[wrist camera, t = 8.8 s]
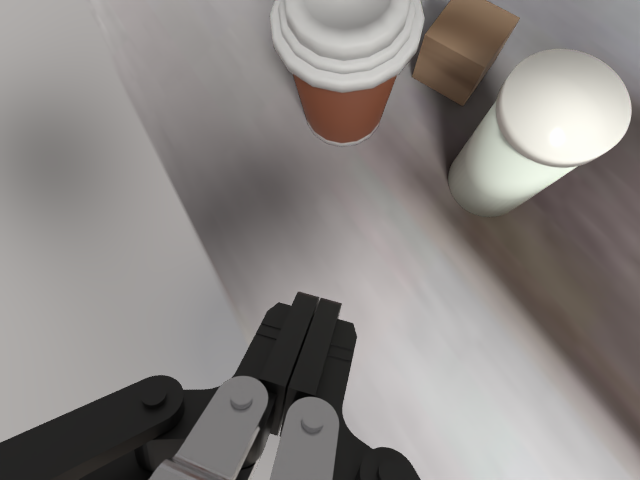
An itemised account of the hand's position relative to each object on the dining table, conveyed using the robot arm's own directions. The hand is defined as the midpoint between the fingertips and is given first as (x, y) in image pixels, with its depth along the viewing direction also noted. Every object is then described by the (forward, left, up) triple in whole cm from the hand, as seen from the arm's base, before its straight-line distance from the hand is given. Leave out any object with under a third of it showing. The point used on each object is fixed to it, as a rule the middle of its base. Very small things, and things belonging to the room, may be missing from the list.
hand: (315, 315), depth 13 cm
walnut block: (-22, -9, -16) cm, 29 cm away
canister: (-17, 0, -16) cm, 23 cm away
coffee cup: (-12, -13, -16) cm, 24 cm away
